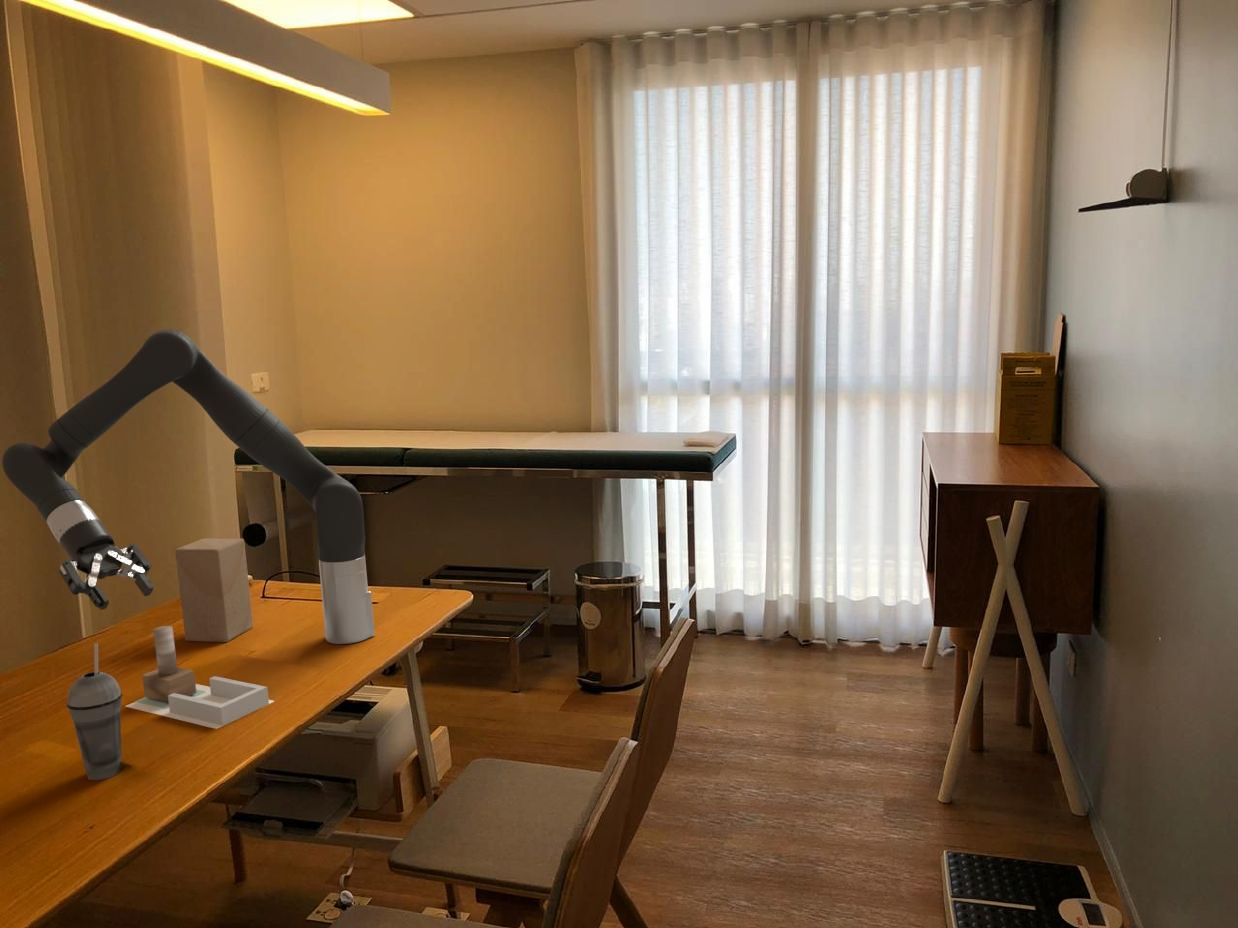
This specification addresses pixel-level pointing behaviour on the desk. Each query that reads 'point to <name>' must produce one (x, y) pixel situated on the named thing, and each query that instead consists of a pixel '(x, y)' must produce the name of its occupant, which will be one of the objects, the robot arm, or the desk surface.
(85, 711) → the beverage cup
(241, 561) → the wooden block
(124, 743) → the desk surface
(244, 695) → the docking tray
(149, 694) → the peg with base
